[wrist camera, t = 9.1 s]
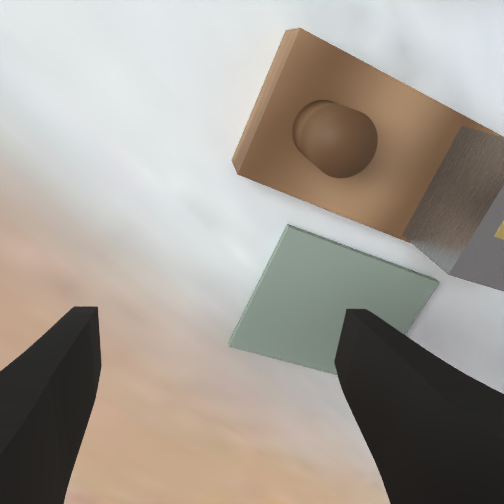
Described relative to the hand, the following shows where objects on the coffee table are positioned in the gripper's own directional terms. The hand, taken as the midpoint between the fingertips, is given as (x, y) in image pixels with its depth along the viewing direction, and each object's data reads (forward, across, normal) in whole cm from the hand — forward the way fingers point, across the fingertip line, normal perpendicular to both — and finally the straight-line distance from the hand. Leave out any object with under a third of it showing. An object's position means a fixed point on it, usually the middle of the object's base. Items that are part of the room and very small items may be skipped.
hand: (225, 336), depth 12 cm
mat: (+10, -8, +6) cm, 14 cm away
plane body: (+10, -10, -3) cm, 15 cm away
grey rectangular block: (+7, -11, -3) cm, 14 cm away
